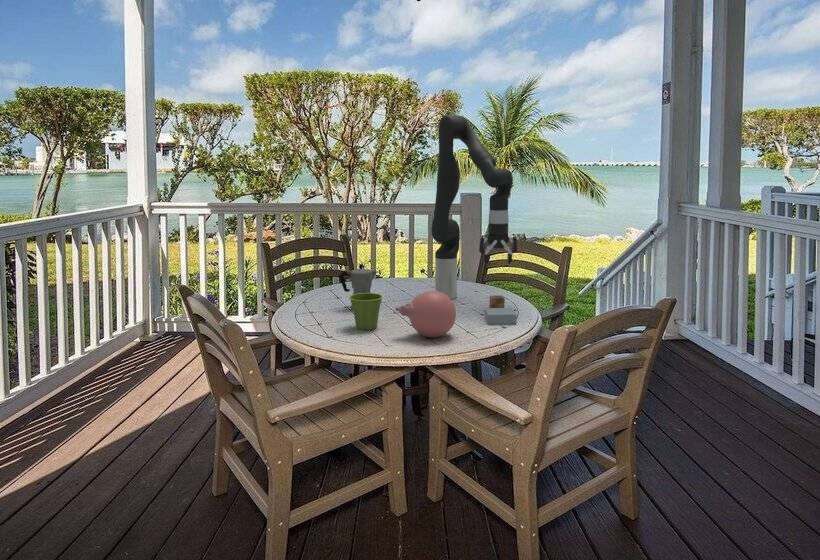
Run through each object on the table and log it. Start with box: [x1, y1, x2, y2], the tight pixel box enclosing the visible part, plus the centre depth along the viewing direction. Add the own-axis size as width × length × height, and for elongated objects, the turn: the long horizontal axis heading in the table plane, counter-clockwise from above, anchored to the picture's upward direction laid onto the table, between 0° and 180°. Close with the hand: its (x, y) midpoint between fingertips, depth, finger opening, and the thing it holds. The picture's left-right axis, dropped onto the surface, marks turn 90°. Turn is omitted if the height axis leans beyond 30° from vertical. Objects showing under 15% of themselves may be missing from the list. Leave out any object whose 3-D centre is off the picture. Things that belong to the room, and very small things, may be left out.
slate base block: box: [484, 307, 517, 326], centre depth 214 cm, size 10×10×4 cm
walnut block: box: [489, 294, 506, 308], centre depth 231 cm, size 5×5×5 cm
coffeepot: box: [338, 263, 379, 311], centre depth 233 cm, size 15×9×18 cm, turn 107°
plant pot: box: [348, 292, 384, 331], centre depth 206 cm, size 12×12×11 cm
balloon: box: [394, 290, 457, 338], centre depth 194 cm, size 15×20×15 cm
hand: (497, 263), depth 228 cm, fingers open, 8 cm apart
